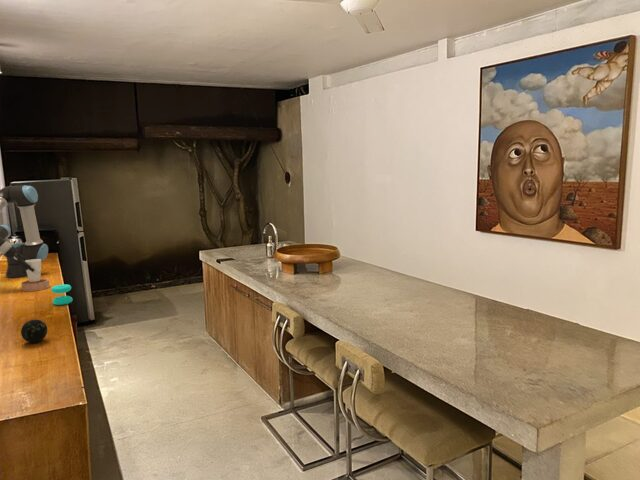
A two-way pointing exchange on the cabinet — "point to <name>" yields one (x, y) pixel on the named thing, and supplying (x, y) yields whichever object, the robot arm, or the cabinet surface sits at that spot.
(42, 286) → the bowl
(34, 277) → the foam cup
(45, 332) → the decorative stone
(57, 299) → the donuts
